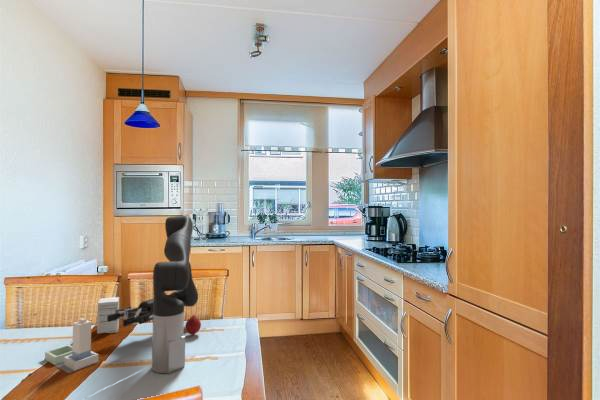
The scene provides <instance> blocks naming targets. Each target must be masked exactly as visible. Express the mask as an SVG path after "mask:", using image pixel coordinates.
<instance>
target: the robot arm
mask: <svg viewBox="0 0 600 400" xmlns="http://www.w3.org/2000/svg"><path fill="white" fill-rule="evenodd" d="M164 224H165V225H164V226H165V229H164V230H165V234H166V241H165V244H164V249H163V250H164V251H163V253H164V254H163V255H164V256H165V258H166V259H167V261H158V262H156V263H155V265H154V267H153V271H152V274H153V275H152V284H153V285H152V286H153V287H152V288H153V289H152V290H153V298H151V299H148V300H144V301H142V302H140V303H139V305H138V307H137V306H136V307H132V306H126V307H122V308H119V310H116V311H115V313H114V314H111V315H108V316H107V321H108V322H111V321H114V320H117V319H119V320H121V319H123V320H122V327H127V326H130V325H133V324H134V325H136V324H138V325H143V324H145V323H147V322H150V321H152V338H151V339H152V340H151V341H152V344H151V345H152V346H151V351H152V352H151V370H152V372H153V373H157V374H168V375H169V374H171V373H173V372H176V371H177V370H179V369H182V368H184V367H185V364H186V362H185V361H186V336H185V335H184V331H185V330H184V327H185V325H184V324H185V307H189V308H191V307H194V306H196V304H197V303H198V299H199V293H198V289H197V287H196V284H195V282H194V280H193V273H192V266H191V262H190V255H191V245H192V243H191V241H192V240H191V237H192V235H193V229H194V227H193V226H194V223H193V220H192V218H191V216H189V215H178V216H176V215H175V216H169V217H167V218H166V219H165V223H164ZM166 292H172V293H170V294H167V293H166Z"/></svg>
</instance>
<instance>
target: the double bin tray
mask: <svg viewBox="0 0 600 400" xmlns="http://www.w3.org/2000/svg"><path fill="white" fill-rule="evenodd" d="M99 355H100V354H99V353H96V352H94V351H92V350H91V355H90V357H87V358H84V359H81V360H78V361H75V360H73V359H72V344H67V345H63V346H60V347H56V348H53V349H50V350H47V351H45V352H44V361H46V362H48V363H50V364H52V365H53V366H54V367H57V368H58V369H60V370H62V371H63V372H65V373H67V374H71V373H74V372H77V371H80V370H83V369H84V368H88V367H90V366H93V365H95V364H98V363H99V357H100V356H99Z"/></svg>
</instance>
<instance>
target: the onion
mask: <svg viewBox="0 0 600 400" xmlns="http://www.w3.org/2000/svg"><path fill="white" fill-rule="evenodd" d="M184 327H185V331H186V332H187V333H188V334H189V335H191V336H194V335H196V334H197V333H198V332H199V331H200V329H201V327H202V323H201V320H200V319H199V318H198V317H196V314H192V315H191V317H189V318H188V320H187V321H186V323H185V325H184Z"/></svg>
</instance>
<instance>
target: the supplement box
mask: <svg viewBox="0 0 600 400" xmlns="http://www.w3.org/2000/svg"><path fill="white" fill-rule="evenodd" d="M119 309H120V296H114V297H104V298H102V297H101V298H99V299H98V302H97V315H96V316H97V317H96V318H97V319H96V320H97V322H96V324H97V326H96V327H97V328H96V334H103V333H104V334H105V333H107V334H116V333H118V332H119V325H120V324H119V323H120V322H119V321H120V319H117V320H114V321H111V322H108V321H107V316H108V315H111V314H114V313H115V311H116V310H119Z"/></svg>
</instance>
